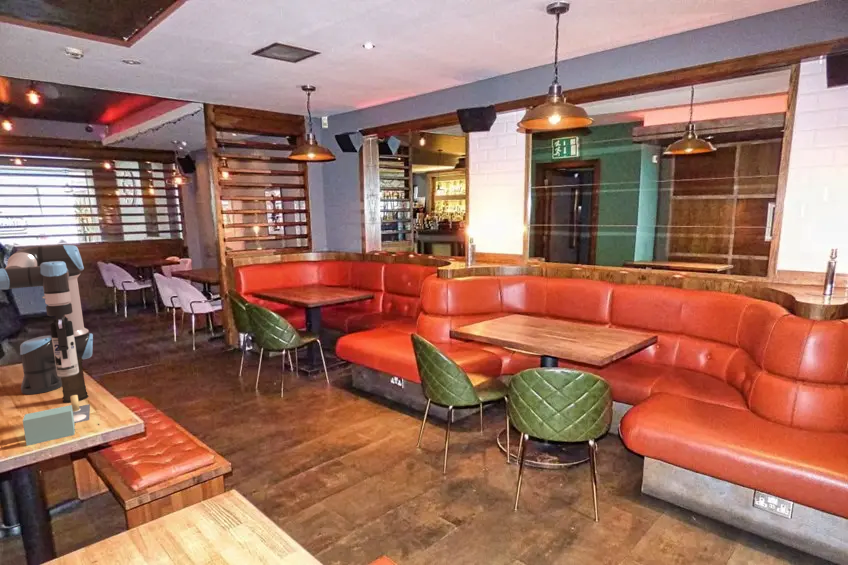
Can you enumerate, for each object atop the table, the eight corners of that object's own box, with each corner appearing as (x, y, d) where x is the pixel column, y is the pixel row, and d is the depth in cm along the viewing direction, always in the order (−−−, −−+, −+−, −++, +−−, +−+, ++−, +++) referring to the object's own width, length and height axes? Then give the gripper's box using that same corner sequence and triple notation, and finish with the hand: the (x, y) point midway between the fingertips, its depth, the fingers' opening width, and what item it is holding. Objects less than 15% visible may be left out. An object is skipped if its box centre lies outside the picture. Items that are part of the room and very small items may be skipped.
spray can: (53, 378, 173) (45, 325, 170) (62, 372, 180) (54, 321, 177) (75, 376, 175) (67, 323, 172) (82, 370, 182) (75, 319, 178)
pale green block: (28, 438, 167) (25, 414, 166) (75, 428, 175) (71, 404, 173) (26, 445, 162) (22, 420, 160) (74, 434, 169) (70, 411, 168)
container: (75, 405, 195) (69, 363, 192) (57, 404, 197) (51, 362, 194) (94, 397, 204) (88, 357, 201) (76, 396, 206) (71, 356, 203)
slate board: (37, 417, 185) (34, 400, 184) (90, 406, 194) (87, 390, 193) (31, 435, 170) (29, 416, 169) (89, 422, 179) (87, 404, 178)
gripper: (47, 301, 179) (56, 359, 183) (43, 309, 163) (52, 373, 167) (72, 298, 183) (80, 356, 187) (70, 306, 167) (78, 369, 171)
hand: (67, 364), depth 177 cm, fingers closed on spray can, 7 cm apart
